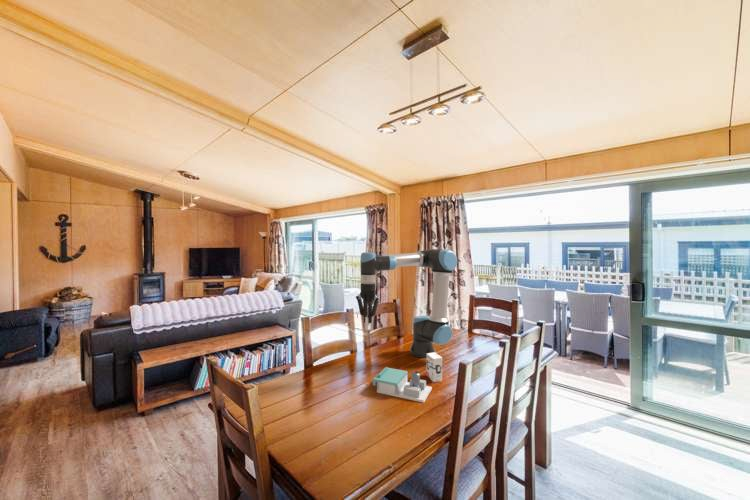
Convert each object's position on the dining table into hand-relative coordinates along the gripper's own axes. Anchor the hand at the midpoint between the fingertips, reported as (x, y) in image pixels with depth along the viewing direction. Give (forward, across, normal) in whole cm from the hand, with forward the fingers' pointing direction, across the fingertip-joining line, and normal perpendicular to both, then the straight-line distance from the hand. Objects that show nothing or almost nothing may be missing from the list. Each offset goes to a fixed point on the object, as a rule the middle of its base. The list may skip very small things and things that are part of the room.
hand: (367, 329), depth 159 cm
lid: (+21, +15, -6) cm, 27 cm away
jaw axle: (+24, +27, -6) cm, 37 cm away
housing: (+24, +22, -6) cm, 33 cm away
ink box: (+25, +31, +13) cm, 42 cm away
